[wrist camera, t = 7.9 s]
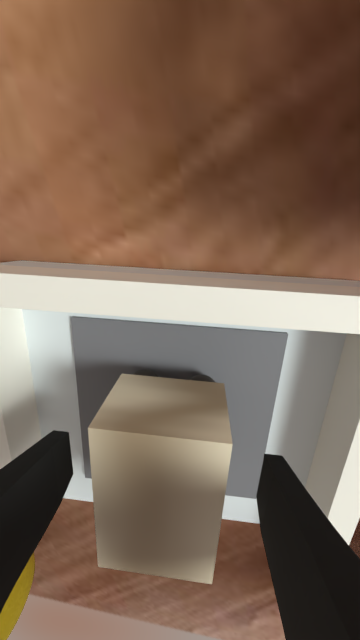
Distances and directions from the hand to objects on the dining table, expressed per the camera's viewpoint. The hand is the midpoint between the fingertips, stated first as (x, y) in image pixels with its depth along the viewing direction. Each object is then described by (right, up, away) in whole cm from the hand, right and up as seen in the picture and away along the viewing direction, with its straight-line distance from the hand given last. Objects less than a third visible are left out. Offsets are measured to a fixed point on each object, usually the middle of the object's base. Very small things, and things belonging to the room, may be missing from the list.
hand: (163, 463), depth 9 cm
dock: (0, +1, +5) cm, 5 cm away
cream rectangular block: (0, +1, +3) cm, 3 cm away
